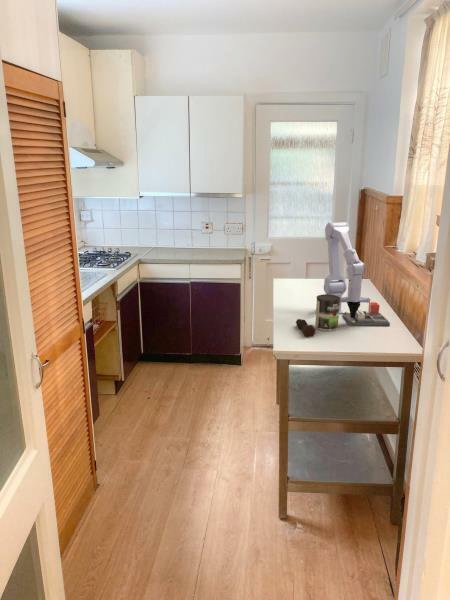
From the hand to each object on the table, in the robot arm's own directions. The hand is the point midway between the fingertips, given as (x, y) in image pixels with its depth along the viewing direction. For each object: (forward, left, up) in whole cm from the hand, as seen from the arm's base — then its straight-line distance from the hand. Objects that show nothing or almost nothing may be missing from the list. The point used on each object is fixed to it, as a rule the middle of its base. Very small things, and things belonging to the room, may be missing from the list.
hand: (352, 317), depth 222 cm
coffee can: (-13, -6, -3) cm, 15 cm away
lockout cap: (+14, +15, -3) cm, 20 cm away
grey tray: (+7, +3, -3) cm, 8 cm away
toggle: (+4, +7, -1) cm, 7 cm away
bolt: (-24, -12, -3) cm, 27 cm away
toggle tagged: (+4, 0, -1) cm, 4 cm away
